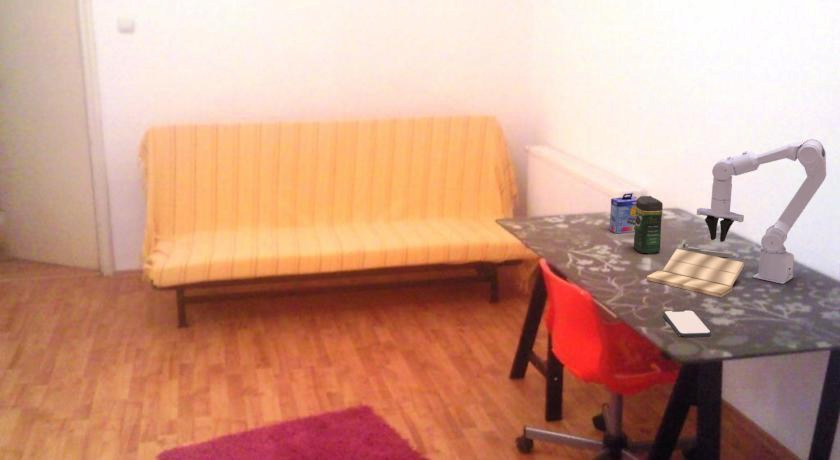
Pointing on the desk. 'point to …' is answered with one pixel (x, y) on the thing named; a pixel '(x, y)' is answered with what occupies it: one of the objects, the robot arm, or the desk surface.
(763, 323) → the desk surface
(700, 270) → the loose plank
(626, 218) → the ink cartridge box
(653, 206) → the coffee jar
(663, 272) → the laid strip
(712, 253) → the caliper
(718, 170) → the robot arm
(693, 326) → the smartphone with white screen
